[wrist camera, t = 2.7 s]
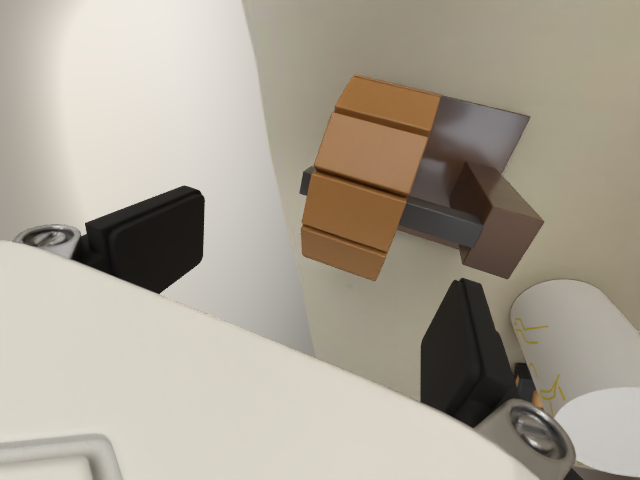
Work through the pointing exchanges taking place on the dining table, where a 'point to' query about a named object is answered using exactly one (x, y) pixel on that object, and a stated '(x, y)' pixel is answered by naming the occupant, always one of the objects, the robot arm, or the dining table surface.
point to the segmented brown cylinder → (365, 173)
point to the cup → (584, 369)
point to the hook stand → (469, 188)
